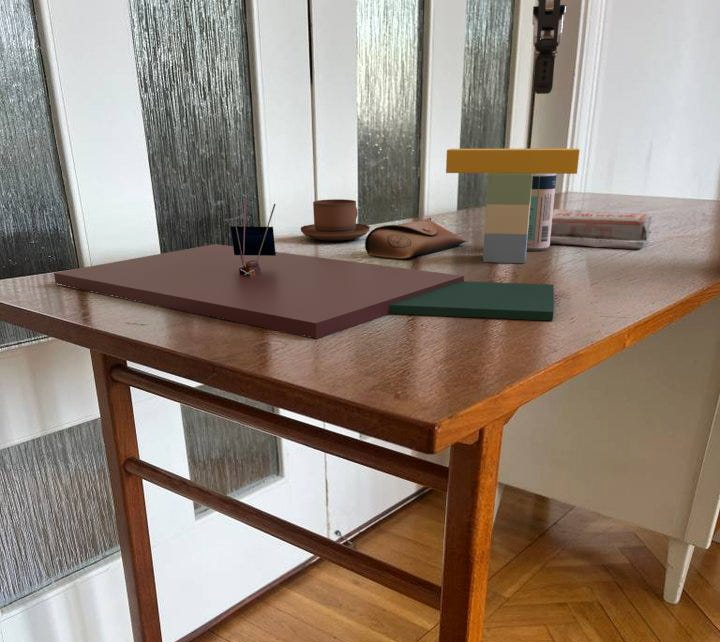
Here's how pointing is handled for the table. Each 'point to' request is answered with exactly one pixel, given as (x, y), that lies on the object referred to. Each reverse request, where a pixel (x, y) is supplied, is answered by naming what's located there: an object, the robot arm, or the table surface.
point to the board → (260, 284)
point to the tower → (507, 217)
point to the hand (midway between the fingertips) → (542, 93)
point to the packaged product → (600, 229)
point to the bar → (513, 161)
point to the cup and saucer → (335, 221)
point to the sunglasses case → (410, 240)
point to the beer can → (541, 211)
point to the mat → (483, 301)
